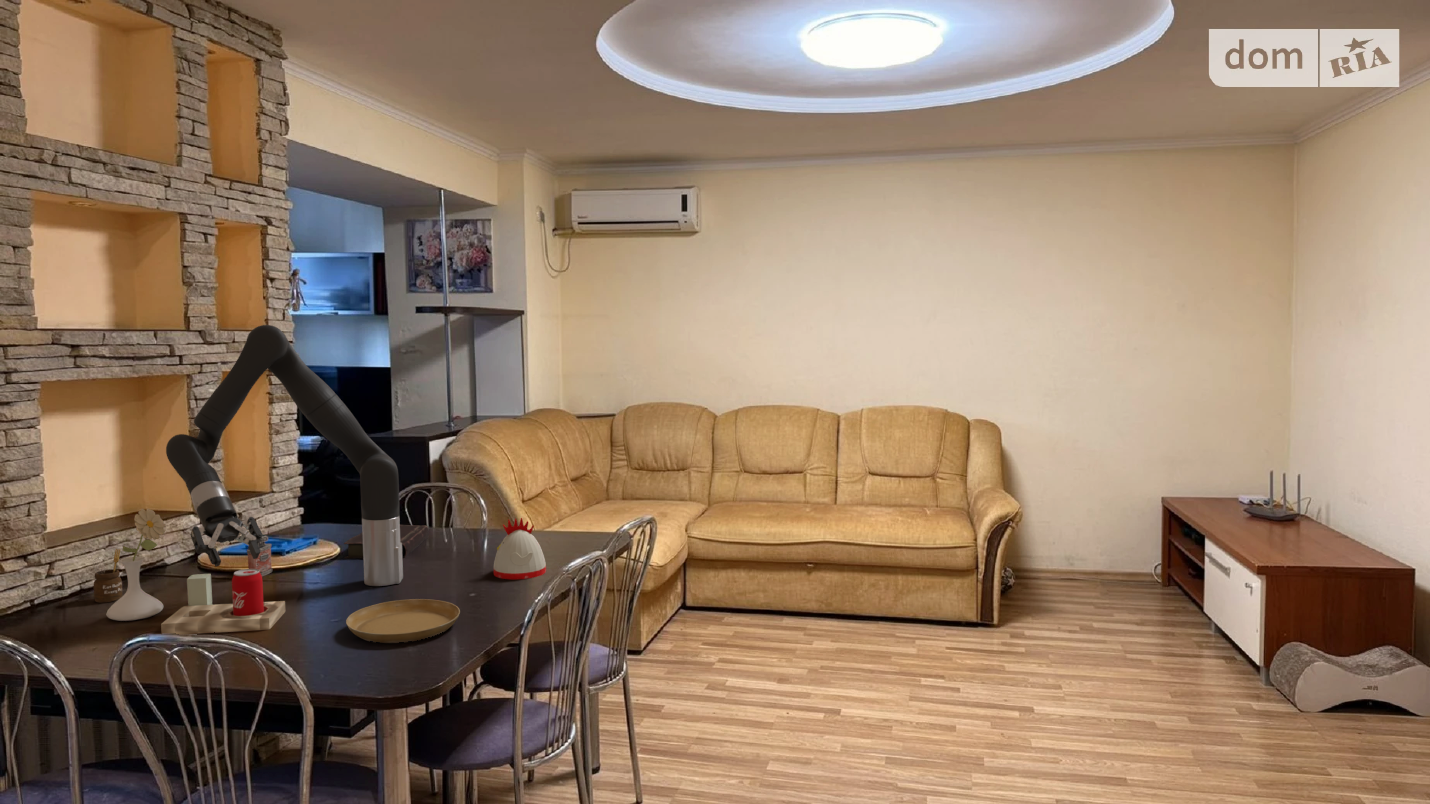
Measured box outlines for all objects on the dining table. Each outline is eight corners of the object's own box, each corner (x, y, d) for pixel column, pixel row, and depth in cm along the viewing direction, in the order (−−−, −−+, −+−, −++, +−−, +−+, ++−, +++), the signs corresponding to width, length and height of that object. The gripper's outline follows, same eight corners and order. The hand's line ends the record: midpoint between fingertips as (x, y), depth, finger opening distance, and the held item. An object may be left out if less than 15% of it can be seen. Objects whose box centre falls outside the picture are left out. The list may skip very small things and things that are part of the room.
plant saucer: (462, 641, 206) (461, 626, 206) (342, 653, 200) (341, 637, 199) (458, 608, 229) (458, 595, 229) (350, 618, 223) (350, 604, 222)
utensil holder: (88, 601, 235) (85, 553, 234) (112, 594, 241) (110, 547, 240) (105, 604, 233) (102, 555, 232) (129, 597, 239) (126, 549, 238)
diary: (429, 540, 302) (429, 524, 302) (406, 560, 277) (406, 543, 277) (369, 539, 302) (369, 524, 301) (341, 559, 277) (340, 542, 276)
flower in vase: (122, 628, 215) (116, 518, 213) (96, 620, 221) (90, 512, 219) (181, 613, 226) (175, 508, 224) (154, 605, 232) (148, 503, 230)
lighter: (256, 578, 256) (254, 541, 255) (244, 578, 256) (242, 541, 255) (275, 570, 263) (274, 534, 263) (264, 570, 264) (262, 534, 263)
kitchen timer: (491, 568, 265) (490, 514, 264) (542, 564, 269) (541, 511, 268) (496, 581, 252) (494, 525, 251) (549, 577, 256) (547, 521, 255)
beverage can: (240, 619, 221) (238, 568, 220) (268, 618, 221) (266, 567, 220) (229, 628, 215) (226, 575, 214) (258, 627, 215) (255, 574, 214)
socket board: (285, 613, 225) (284, 600, 225) (269, 631, 213) (269, 618, 212) (184, 618, 222) (183, 606, 221) (161, 637, 209) (161, 623, 209)
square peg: (212, 610, 228) (210, 573, 227) (207, 616, 224) (205, 578, 223) (194, 612, 227) (192, 574, 226) (188, 617, 223) (186, 579, 222)
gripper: (185, 499, 218) (209, 557, 212) (248, 490, 229) (273, 544, 223) (176, 519, 222) (201, 576, 216) (239, 509, 233) (264, 563, 227)
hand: (238, 560), depth 220 cm, fingers open, 8 cm apart
